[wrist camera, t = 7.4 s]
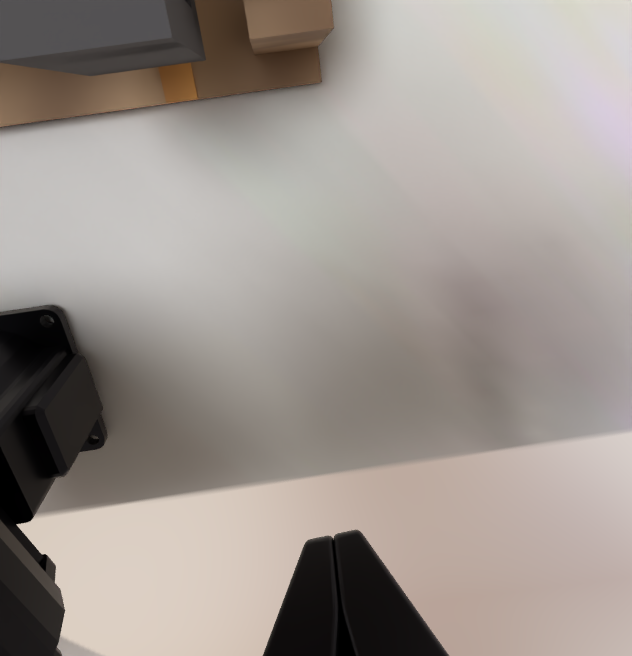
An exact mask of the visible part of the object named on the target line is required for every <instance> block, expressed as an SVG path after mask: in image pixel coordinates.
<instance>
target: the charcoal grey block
mask: <svg viewBox="0 0 632 656" xmlns="http://www.w3.org/2000/svg"><path fill="white" fill-rule="evenodd" d="M205 60H206V57H205V52H204V46H203V41H202V36H201V31H200V26H199V21H198V15H197V10H196V5H195V0H0V63H5V64H12V65H19V66H25V67H32V68H39V69H46V70H52V71H59V72H66V73H72V74H79V75H86V76H96V75H103V74H110V73H118V72H125V71H132V70H140V69H147V68H154V67H161V66H169V65H176V64H183V63H191V62H198V61H205Z"/></svg>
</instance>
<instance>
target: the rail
mask: <svg viewBox="0 0 632 656" xmlns="http://www.w3.org/2000/svg"><path fill="white" fill-rule="evenodd" d="M195 5H196V10H197V15H198V21H199V26H200V31H201V36H202V41H203V46H204V52H205V57H206V60H205V61H198V62H191V63H183V64H176V65H169V66H161V67H154V68H147V69H140V70H132V71H125V72H118V73H110V74H103V75H96V76H86V75H79V74H72V73H66V72H59V71H52V70H46V69H39V68H32V67H25V66H19V65H12V64H5V63H0V127H5V126H12V125H19V124H26V123H33V122H41V121H48V120H55V119H62V118H69V117H77V116H84V115H91V114H98V113H105V112H112V111H120V110H127V109H134V108H141V107H148V106H156V105H163V104H170V103H177V102H184V101H191V100H199V99H206V98H213V97H220V96H227V95H235V94H242V93H249V92H256V91H263V90H271V89H278V88H285V87H292V86H299V85H306V84H314V83H320V82H322V80H321V71H320V62H319V53H318V46H319V45H320V43H321V42H322V41H323V40H324V39H325V38H326V36H327V35H328V34H329V33H330V32H331V31H332V29H333V28H334V25H333V15H332V4H331V0H195Z"/></svg>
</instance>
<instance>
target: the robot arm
mask: <svg viewBox="0 0 632 656" xmlns="http://www.w3.org/2000/svg"><path fill="white" fill-rule="evenodd" d="M44 315H48V316H50V317H52V318H53V320H54V324H53V323H49V322H47V321H46V320H45V318H44ZM102 409H103V407H102V404H101V401H100V398H99V395H98V393H97V390H96V387H95V384H94V382H93V379H92V376H91V373H90V371H89V368H88V365H87V362H86V359H85V357H83V356H82V355H81V354H79V353H78V351H77V348H76V346H75V343H74V340H73V337H72V335H71V332H70V329H69V327H68V324H67V321H66V318H65V316H64V314H63V312H62V311H61V310H60V309H59V308H57V307H55V306H50V305H46V306H39V307H33V308H26V309H19V310H12V311H6V312H0V656H62V654H61V652H60V651H59V649H58V648H57V645H58V642H59V637H60V633H61V627H62V622H63V617H64V613H65V609H64V604H63V599H62V595H61V590H60V588H59V587H58V586H57V585H56V584H55V570H56V566H55V564H54V563H53V562H52V561H51V559H50V558H49V557H48V556H47V555H46V554H44V555H42V554H41V553H40V552H39V551H38V550H37V549H36V547H35V546H34V545H33V544H32V543H31V542H30V540H29V539H28V538H27V537H26V536H25V534H24V533H22V531H21V530H20V529H19V528H18V526H17V525H16V524H21V523H26V522H29V521H31V520H32V519H33V517H34V515H35V514H36V512H37V510H38V508H39V507H40V505H41V503H42V501H43V500H44V498H45V496H46V494H47V493H48V491H49V489H50V487H51V485H52V484H53V482H54V480H55V478H58V477H64V476H65V475H66V474H67V473H68V471H69V470H70V468H71V466H72V464H73V463H74V461H75V459H76V457H77V455H78V453H79V452H82V451H89V450H95V449H99V448H101V447H102V446H103V445H104V443H105V441H106V439H107V437H108V434H107V430H106V427H105V425H104V422H103V419H102V417H101V414H100V413H101V411H102ZM90 435H95V436H97V437H98V438H99V439H94V438H92V437H91V436H90ZM263 656H449V655H448V654H447V652H446V651H445V650H444V648H443V647H442V645H441V644H440V642H439V641H438V639H437V638H436V637H435V635H434V634H433V633H432V631H431V630H430V628H429V627H428V626H427V624H426V623H425V621H424V620H423V618H422V617H421V616H420V614H419V613H418V611H417V610H416V609H415V607H414V606H413V604H412V603H411V601H410V600H409V599H408V597H407V596H406V594H405V593H404V592H403V590H402V589H401V587H400V586H399V585H398V583H397V582H396V580H395V579H394V578H393V576H392V575H391V574H390V572H389V570H388V569H387V568H386V566H385V565H384V563H383V562H382V561H381V559H380V558H379V556H378V555H377V554H376V552H375V551H374V550H373V548H372V547H371V545H370V544H369V542H368V541H367V540H366V538H365V537H364V536H363V534H362V533H361V532H360V531H358V530H352V531H347V532H343V533H338V534H336V535H335V536H334V540H333V538H332V537H331V536H324V537H319V538H314V539H310V540H308V541H307V542H306V543H305V545H304V547H303V550H302V552H301V555H300V558H299V560H298V563H297V566H296V568H295V571H294V574H293V577H292V579H291V582H290V585H289V587H288V590H287V592H286V595H285V598H284V600H283V603H282V606H281V608H280V611H279V614H278V617H277V619H276V622H275V624H274V627H273V630H272V632H271V635H270V638H269V640H268V643H267V646H266V648H265V652H264V654H263Z"/></svg>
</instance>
